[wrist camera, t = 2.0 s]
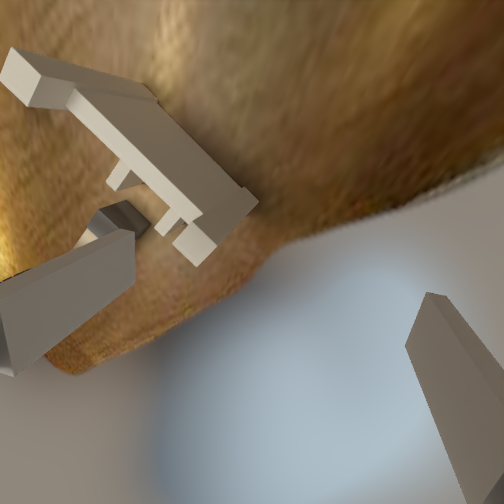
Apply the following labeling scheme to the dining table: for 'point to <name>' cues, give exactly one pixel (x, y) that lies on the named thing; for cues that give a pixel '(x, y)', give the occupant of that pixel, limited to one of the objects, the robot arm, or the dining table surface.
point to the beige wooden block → (114, 222)
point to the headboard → (138, 146)
